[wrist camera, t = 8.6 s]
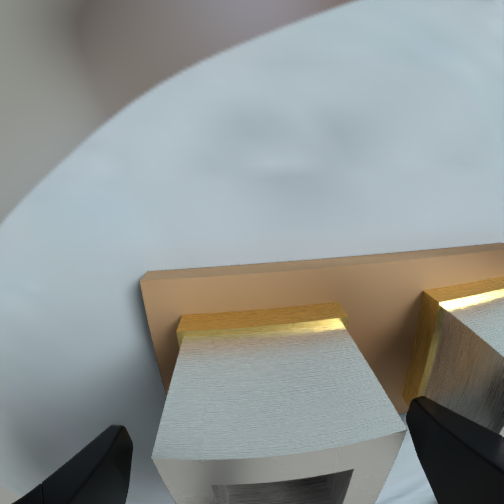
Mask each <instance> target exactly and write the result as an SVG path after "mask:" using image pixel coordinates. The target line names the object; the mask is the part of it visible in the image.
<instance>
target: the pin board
mask: <svg viewBox="0 0 504 504" xmlns="http://www.w3.org/2000/svg"><path fill="white" fill-rule="evenodd" d="M501 276H504V243H494V244H484V245H474V246H463V247H453V248H442V249H431V250H420V251H409V252H397V253H386V254H374V255H363V256H351V257H338V258H326V259H314V260H301V261H288V262H275V263H261V264H248V265H234V266H220V267H206V268H191V269H176V270H161V271H147V273H146V274H145V275H144V276H143V278H142V279H141V280H140V285H141V290H142V295H143V300H144V305H145V310H146V315H147V320H148V324H149V329H150V333H151V337H152V342H153V346H154V350H155V354H156V358H157V362H158V366H159V370H160V373H161V377H162V381H163V384H164V388H165V391H166V395H167V394H168V390H169V387H170V383H171V379H172V376H173V372H174V369H175V365H176V362H177V358H178V354H179V351H180V347H179V343H178V338H177V333H176V331H177V328H178V325H179V322H180V319H181V317H182V315H184V314H202V313H218V312H232V311H246V310H258V309H270V308H281V307H291V306H301V305H311V304H320V303H329V302H337V301H338V303H339V304H340V305H341V307H342V308H343V310H344V311H345V312H346V314H347V315H348V333H349V334H350V336H351V338H352V339H353V341H354V342H355V344H356V345H357V347H358V349H359V350H360V352H361V353H362V355H363V357H364V358H365V360H366V362H367V363H368V365H369V366H370V368H371V370H372V371H373V373H374V374H375V376H376V378H377V379H378V381H379V383H380V384H381V386H382V388H383V389H384V391H385V393H386V394H387V396H388V398H389V399H390V401H391V403H392V404H393V406H394V408H395V409H396V411H397V413H398V414H401V413H405V412H408V409H409V407H408V406H407V404H406V402H405V401H404V399H403V398H402V392H403V388H404V385H405V381H406V377H407V373H408V368H409V364H410V360H411V355H412V351H413V346H414V341H415V336H416V331H417V325H418V319H419V314H420V307H421V301H422V294H423V290H428V289H435V288H441V287H447V286H453V285H458V284H464V283H470V282H475V281H480V280H486V279H491V278H496V277H501Z"/></svg>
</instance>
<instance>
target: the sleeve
mask: <svg viewBox="0 0 504 504" xmlns="http://www.w3.org/2000/svg"><path fill="white" fill-rule="evenodd" d="M176 333H177V338H178V343H179V347H180V351H179V354H178V358H177V362H176V365H175V369H174V372H173V376H172V379H171V383H170V387H169V390H168V394H167V398H166V402H165V405H164V409H163V413H162V417H161V421H160V425H159V429H158V432H157V436H156V440H155V444H154V448H153V453H152V457H151V458H152V460H153V462H154V464H155V466H156V468H157V470H158V472H159V474H160V476H161V478H162V480H163V482H164V483H165V485H166V487H167V489H168V491H169V493H170V494H171V496H172V498H173V500H174V501H175V503H176V504H375V502H376V500H377V498H378V496H379V494H380V492H381V490H382V488H383V486H384V484H385V482H386V479H387V477H388V475H389V473H390V471H391V468H392V466H393V464H394V461H395V459H396V457H397V454H398V452H399V449H400V447H401V444H402V442H403V439H404V437H405V434H406V431H407V428H406V426H405V425H404V423H403V421H402V419H401V418H400V416H399V414H398V413H397V411H396V409H395V408H394V406H393V404H392V403H391V401H390V399H389V398H388V396H387V394H386V393H385V391H384V389H383V388H382V386H381V384H380V383H379V381H378V379H377V378H376V376H375V374H374V373H373V371H372V370H371V368H370V366H369V365H368V363H367V362H366V360H365V358H364V357H363V355H362V353H361V352H360V350H359V349H358V347H357V345H356V344H355V342H354V341H353V339H352V338H351V336H350V334H349V333H348V315H347V314H346V312H345V311H344V310H343V308H342V307H341V305H340V304H339V303H338V301H337V302H329V303H320V304H311V305H301V306H291V307H281V308H270V309H258V310H246V311H232V312H218V313H202V314H184V315H182V317H181V319H180V322H179V325H178V328H177V331H176Z"/></svg>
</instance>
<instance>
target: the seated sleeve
mask: <svg viewBox="0 0 504 504" xmlns="http://www.w3.org/2000/svg"><path fill="white" fill-rule="evenodd" d="M420 396H425V397H427V398H429V399H431V400H433V401H435V402H437V403H438V404H440V405H442V406H444V407H446V408H448V409H450V410H452V411H454V412H456V413H458V414H460V415H462V416H464V417H466V418H468V419H470V420H472V421H474V422H476V423H478V424H480V425H482V426H484V427H486V428H488V429H490V430H492V431H494V432H496V433H498V434H500V435H502V436H503V437H504V276H501V277H496V278H491V279H486V280H480V281H475V282H470V283H464V284H458V285H453V286H447V287H441V288H435V289H428V290H423V294H422V301H421V307H420V314H419V319H418V325H417V331H416V336H415V341H414V346H413V351H412V355H411V360H410V364H409V368H408V373H407V377H406V381H405V385H404V388H403V392H402V398H403V399H404V401H405V402H406V404H407V406H408V407H409V406H410V403H411V401H412V399H414V398H417V397H420Z"/></svg>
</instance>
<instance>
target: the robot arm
mask: <svg viewBox="0 0 504 504" xmlns="http://www.w3.org/2000/svg"><path fill="white" fill-rule="evenodd" d="M406 422H407V425H408V428H409V431H410V434H411V437H412V441H413V444H414V447H415V450H416V453H417V456H418V459H419V461H420V463H421V465H422V468H423V470H424V472H425V474H426V477H427V479H428V481H429V483H430V486H431V488H432V490H433V493H434V495H435V497H436V500H437V502H438V504H504V437H503V436H502V435H500V434H498V433H496V432H494V431H492V430H490V429H488V428H486V427H484V426H482V425H480V424H478V423H476V422H474V421H472V420H470V419H468V418H466V417H464V416H462V415H460V414H458V413H456V412H454V411H452V410H450V409H448V408H446V407H444V406H442V405H440V404H438V403H437V402H435V401H433V400H431V399H429V398H427V397H425V396H420V397H417V398H414V399H412V401H411V403H410V406H409V409H408V412H407V415H406ZM132 452H133V443H132V440H131V438H130V436H129V434H128V432H127V430H126V428H125V427H124V426H122V425H111V426H109V427H108V428H107V429H106V430H105V431H103V432H102V433H101V434H100V435H99V436H98V437H96V438H95V439H94V440H93V441H92V442H90V443H89V444H88V445H87V446H86V447H85V448H83V449H82V450H81V451H80V452H79V453H77V454H76V455H75V456H74V457H73V458H71V459H70V460H69V461H68V462H66V463H65V464H64V465H63V466H62V467H60V468H59V469H58V470H57V471H55V472H54V473H53V474H52V475H50V476H49V477H48V478H47V479H45V480H44V481H43V482H42V484H39V485H38V486H37V487H35V488H34V489H33V490H31V491H30V492H29V493H27V494H26V495H25V496H23V497H22V498H20V499H18V500H17V501H15V502H14V503H12V504H125V503H126V498H127V493H128V488H129V481H130V471H131V461H132Z"/></svg>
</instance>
